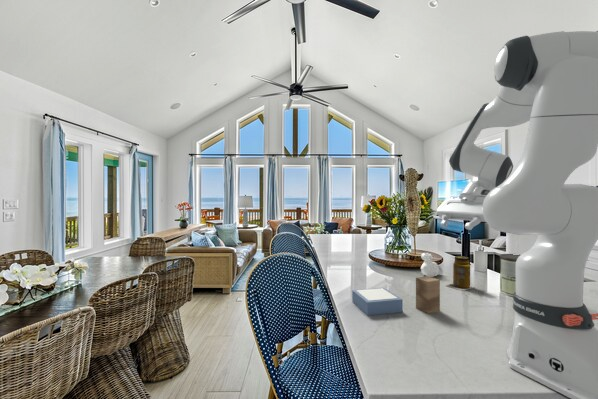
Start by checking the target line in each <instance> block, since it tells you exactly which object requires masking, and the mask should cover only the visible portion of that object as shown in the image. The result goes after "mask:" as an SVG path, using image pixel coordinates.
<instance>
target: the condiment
mask: <svg viewBox="0 0 598 399" xmlns="http://www.w3.org/2000/svg"><path fill="white" fill-rule="evenodd" d="M453 257H454V258H453V259H454V260H453V264H452V269H453V270H452V278H453V279H452V283H450V284H447V285H445V286H446V287H448V288H451V289H456V290H459V291H467V290H471V289H473V288H475V286H473V285H471V264H470V257H467V256H462V255H456V256H453Z"/></svg>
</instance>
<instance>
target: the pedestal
mask: <svg viewBox="0 0 598 399" xmlns="http://www.w3.org/2000/svg"><path fill="white" fill-rule="evenodd" d="M351 291H352V292H351V297H352V298H351V301H352V303H353V304H354V305H356V307H358V308H359V309H360V310H361V312H363V313H364V314H366V316H373V315H383V314H384V315H387V314H396V313H402V312H403V310H404V309H403V305H404V304H403V302H404V301H403V299H402V298H401V297H400V296H397V294H394V293H393V292H391V291H390V290H388V289H387V288H385V287H375V288H362V289H352V290H351Z"/></svg>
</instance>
